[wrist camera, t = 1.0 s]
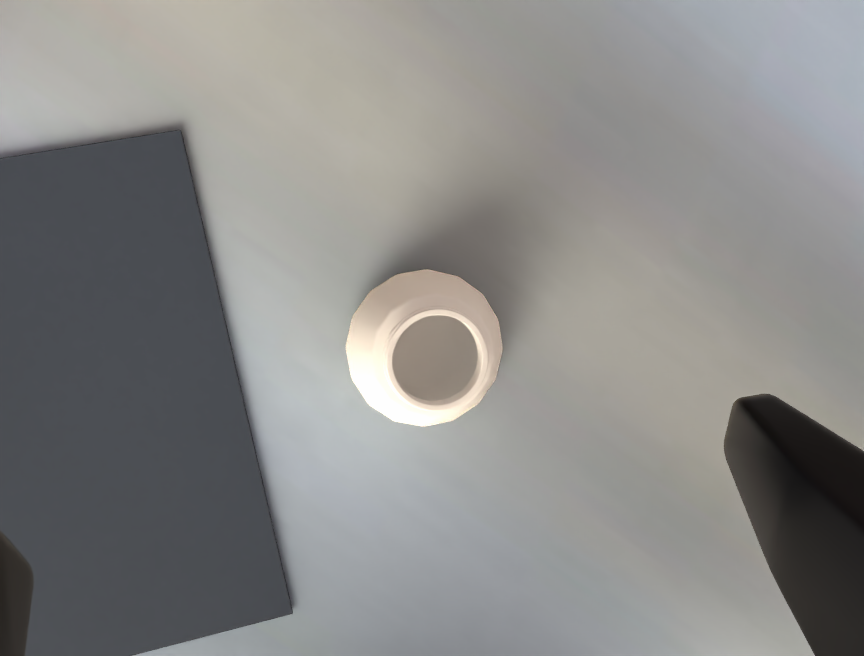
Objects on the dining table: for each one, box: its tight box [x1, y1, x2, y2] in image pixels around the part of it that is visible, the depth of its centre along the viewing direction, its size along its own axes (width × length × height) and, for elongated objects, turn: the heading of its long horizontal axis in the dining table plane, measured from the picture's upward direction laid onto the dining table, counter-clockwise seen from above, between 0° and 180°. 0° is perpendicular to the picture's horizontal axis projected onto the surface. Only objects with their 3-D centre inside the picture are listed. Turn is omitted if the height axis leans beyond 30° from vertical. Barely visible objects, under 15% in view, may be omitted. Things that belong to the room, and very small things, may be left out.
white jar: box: [346, 269, 503, 427], centre depth 22 cm, size 5×3×5 cm
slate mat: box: [0, 130, 293, 656], centre depth 21 cm, size 16×12×1 cm
